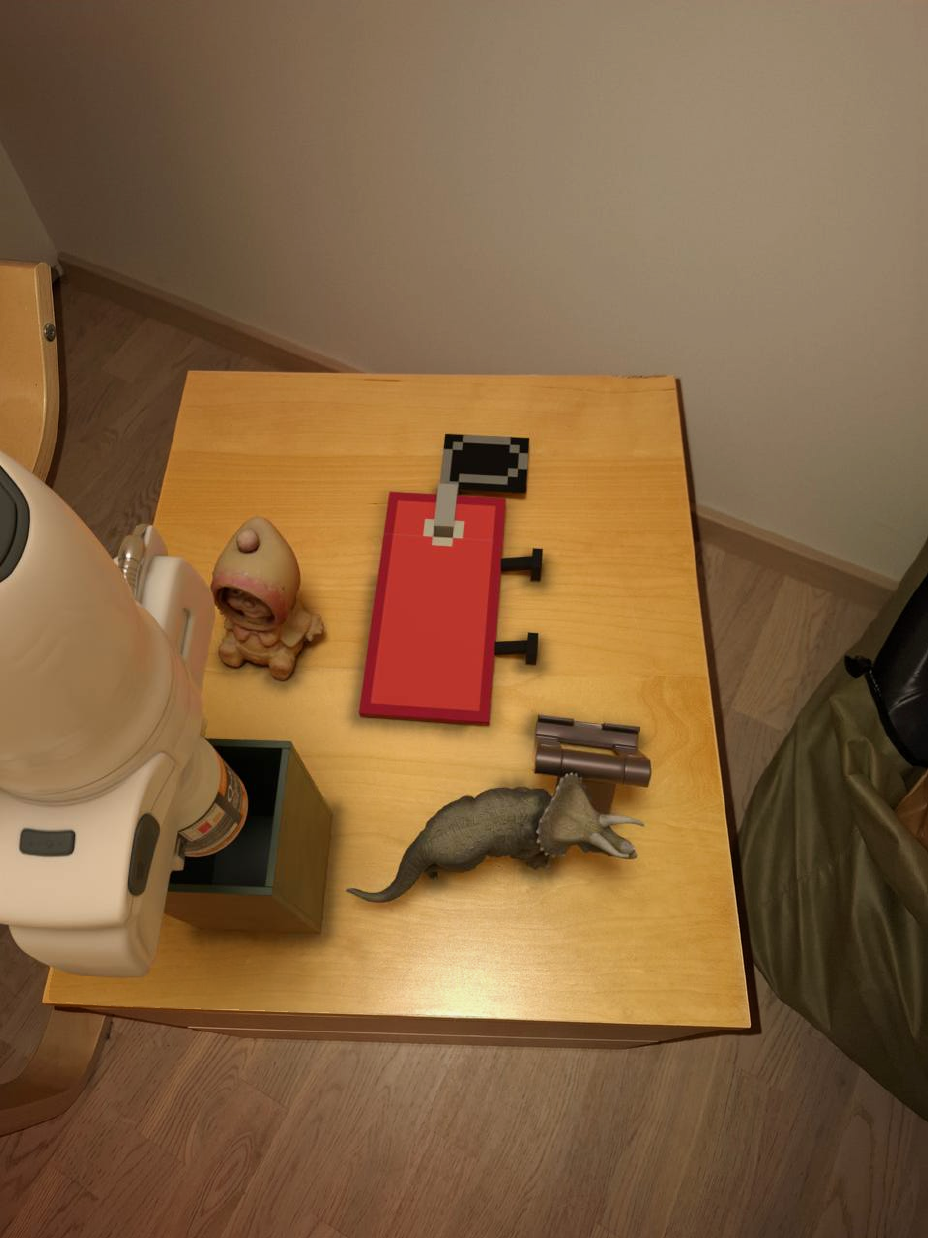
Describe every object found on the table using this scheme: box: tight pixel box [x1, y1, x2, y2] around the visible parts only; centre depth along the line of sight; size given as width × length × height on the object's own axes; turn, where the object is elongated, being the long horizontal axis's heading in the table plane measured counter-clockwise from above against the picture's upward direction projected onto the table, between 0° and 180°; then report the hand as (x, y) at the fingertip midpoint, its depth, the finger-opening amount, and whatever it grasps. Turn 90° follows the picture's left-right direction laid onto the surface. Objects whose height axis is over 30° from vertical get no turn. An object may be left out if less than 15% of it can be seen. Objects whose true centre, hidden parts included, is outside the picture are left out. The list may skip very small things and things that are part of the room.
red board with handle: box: [358, 433, 544, 726], centre depth 83 cm, size 30×3×15 cm
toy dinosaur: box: [345, 773, 646, 904], centre depth 68 cm, size 22×8×11 cm, turn 96°
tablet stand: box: [533, 714, 653, 815], centre depth 72 cm, size 9×8×8 cm
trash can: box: [163, 737, 333, 935], centre depth 64 cm, size 10×10×20 cm
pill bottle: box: [177, 736, 248, 857], centre depth 50 cm, size 6×6×10 cm
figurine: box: [209, 515, 325, 682], centre depth 76 cm, size 10×8×15 cm
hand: (182, 794), depth 51 cm, fingers closed on pill bottle, 6 cm apart
